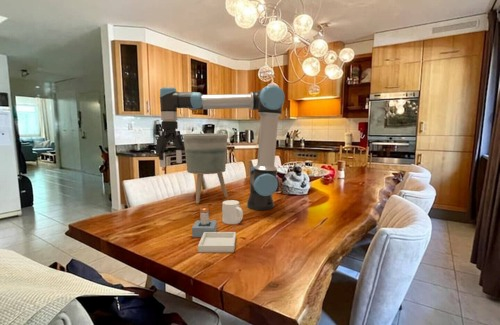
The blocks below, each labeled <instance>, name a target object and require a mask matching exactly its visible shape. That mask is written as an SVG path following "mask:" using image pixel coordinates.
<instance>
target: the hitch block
mask: <svg viewBox="0 0 500 325" xmlns="http://www.w3.org/2000/svg"><path fill="white" fill-rule="evenodd" d="M217 224H218V221H217V220H215V219H213V220H210V219H209V226H201V223H200V220H195V222H194V224H193V225H192V227H191V237H192V238H202V236H203V233H204V232H217V230H218V225H217Z"/></svg>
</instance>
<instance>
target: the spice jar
mask: <svg viewBox="0 0 500 325" xmlns="http://www.w3.org/2000/svg"><path fill="white" fill-rule="evenodd" d="M209 209H210V208H209V206H202V207H200V208H199V214H200V216H199V218H200V223H201V226H209V220H210V213H209V212H210V210H209Z"/></svg>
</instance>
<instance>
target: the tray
mask: <svg viewBox="0 0 500 325" xmlns="http://www.w3.org/2000/svg"><path fill="white" fill-rule="evenodd" d="M236 239H237V232H236V231H216V232H204V233H203V236H202V237H200V241H199V242H198V245H197V253H235V248H236V247H235V246H236Z"/></svg>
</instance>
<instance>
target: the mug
mask: <svg viewBox="0 0 500 325" xmlns="http://www.w3.org/2000/svg"><path fill="white" fill-rule="evenodd" d="M221 208H222V209H221V212H222V220H221V221H222V222H223V223H224V224H226V225H238V224H240V223H241V221H242V220H243V217H244V212H243V208H241V206H240V201H239V200H235V199H234V200H232V199H230V200H229V199H227V200H224V201H222V207H221Z"/></svg>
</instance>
